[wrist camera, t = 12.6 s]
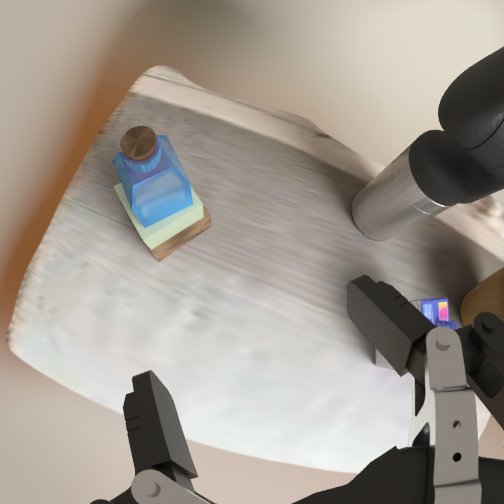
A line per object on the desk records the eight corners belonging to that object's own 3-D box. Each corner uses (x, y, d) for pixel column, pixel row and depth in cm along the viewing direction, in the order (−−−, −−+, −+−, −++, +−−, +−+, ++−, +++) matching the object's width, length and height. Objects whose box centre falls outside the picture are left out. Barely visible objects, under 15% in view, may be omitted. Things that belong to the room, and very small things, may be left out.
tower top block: (173, 171, 42) (169, 153, 37) (203, 217, 41) (202, 203, 36) (123, 201, 40) (113, 186, 35) (151, 250, 39) (143, 240, 34)
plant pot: (495, 280, 51) (553, 266, 35) (488, 352, 47) (548, 353, 32) (449, 263, 50) (512, 243, 34) (439, 345, 46) (506, 347, 31)
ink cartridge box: (403, 362, 45) (462, 371, 31) (374, 367, 44) (430, 380, 30) (401, 302, 47) (461, 294, 33) (373, 305, 46) (429, 297, 32)
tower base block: (178, 180, 47) (174, 165, 42) (211, 226, 46) (210, 216, 41) (128, 213, 45) (119, 201, 40) (159, 262, 44) (153, 255, 39)
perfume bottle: (126, 184, 36) (96, 131, 24) (172, 162, 37) (159, 102, 25) (144, 228, 35) (115, 186, 23) (193, 204, 36) (186, 153, 24)
